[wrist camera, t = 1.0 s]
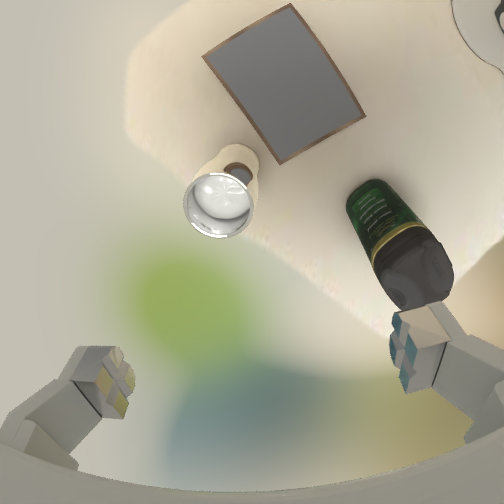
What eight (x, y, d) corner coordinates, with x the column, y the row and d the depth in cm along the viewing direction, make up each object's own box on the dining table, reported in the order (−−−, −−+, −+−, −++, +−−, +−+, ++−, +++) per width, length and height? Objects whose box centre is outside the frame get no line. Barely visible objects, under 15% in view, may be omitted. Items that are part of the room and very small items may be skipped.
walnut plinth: (288, 12, 30) (290, 2, 25) (355, 112, 36) (367, 116, 31) (210, 59, 34) (200, 56, 29) (279, 156, 40) (279, 166, 35)
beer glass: (202, 154, 40) (167, 191, 27) (247, 131, 38) (233, 156, 25) (226, 197, 43) (204, 250, 30) (271, 176, 41) (269, 223, 28)
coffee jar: (335, 203, 43) (368, 280, 27) (378, 169, 39) (437, 228, 23) (371, 247, 46) (410, 332, 30) (411, 217, 43) (468, 291, 27)
